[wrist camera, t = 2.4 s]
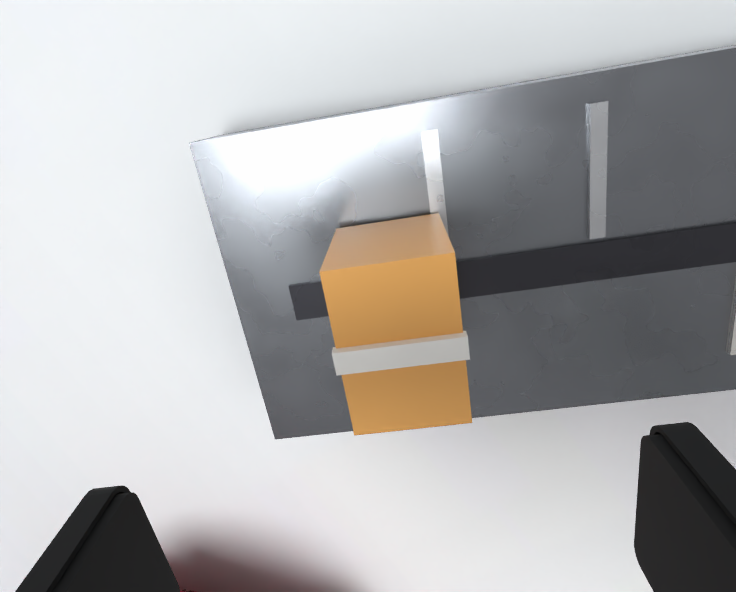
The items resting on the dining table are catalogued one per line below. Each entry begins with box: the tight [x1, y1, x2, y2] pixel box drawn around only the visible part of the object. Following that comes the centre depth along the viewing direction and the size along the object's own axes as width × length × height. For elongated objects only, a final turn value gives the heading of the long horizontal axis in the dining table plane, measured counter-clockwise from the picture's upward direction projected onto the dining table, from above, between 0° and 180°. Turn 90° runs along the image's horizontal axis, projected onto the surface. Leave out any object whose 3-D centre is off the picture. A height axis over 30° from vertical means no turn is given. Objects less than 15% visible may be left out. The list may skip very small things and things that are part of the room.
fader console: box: [189, 45, 736, 439], centre depth 21 cm, size 30×14×4 cm, turn 99°
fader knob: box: [319, 213, 472, 435], centre depth 18 cm, size 4×6×5 cm
